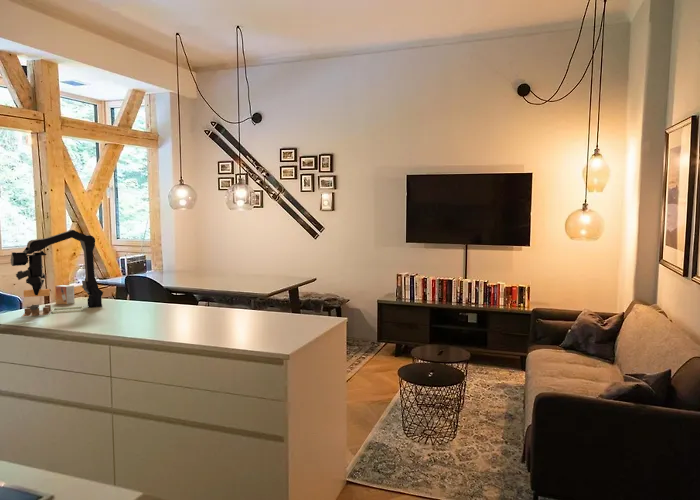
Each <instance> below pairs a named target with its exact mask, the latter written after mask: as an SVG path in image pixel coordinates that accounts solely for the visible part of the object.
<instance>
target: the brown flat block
mask: <svg viewBox="0 0 700 500" xmlns="http://www.w3.org/2000/svg"><path fill="white" fill-rule="evenodd" d="M31 306H32V305H27V306H26V308H24V313H23V315H22V316H21V317H33V316H37V317H38V316H49V315H50V314H52V313H51V311H52V310H53V309H52V306H51V304H45V305H44V306H43V307H42V309H40V307H39V308H38V309H36V310H31V309H30V307H31Z"/></svg>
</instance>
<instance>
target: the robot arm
mask: <svg viewBox="0 0 700 500" xmlns="http://www.w3.org/2000/svg"><path fill="white" fill-rule="evenodd" d="M71 238H72V239H74V240H75V241H78V242H80V247H81V248H82V251H83V257H84V270H85V271H84V272H85V273H84V274H85V277H84V280H81V283H82V285H81V288H82V289H83V291H84V292H86V293H87V295H88V298H87V307H88V308H101V307H103V303H102V302H103V300H102V299H103V298H102V296H103V294H104V291H102V290H101V289H100V288H99V284H98V282H97V279H96V276H95V263H94V262H95V261H94V249H95V245H96V238H95V237H94V235H90V234H84V233H81V232H79V231H77V230H76V229H69V230H67V231H64V232H61V233H58V234H55V235H51V236H47V237H45V238H44V237H43V238H37V239H36V238H35V239H31V240H29V241H28V242H27V244H26V247H25V249H24V250H23V251H22V252H21V251H20V252H17V251H16V252H13V251H12V252H11V255H10V265H11V267H18V266H26V265H27V264H28V267H27V269H26V270H23V271H22V270H19V271H17V272H16V273H15V277H16V278H17V280H18V281H20V280H22V279H24V278H26V279H25V284H29V285H30V286H31V289H32V290H33V291H34V294H35V295H38V293H39V290H40V289H42V287H43V285H44V282H45V279H46V275H47V274H45V272H44V273H43V268H44V266H43V257H42V256H46V255H47V253H45V251H43V250H44V249H46V248H47V247H49V246H51V245H54V244H57V243H60V242H63V241H66V240H68V239H71Z"/></svg>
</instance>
